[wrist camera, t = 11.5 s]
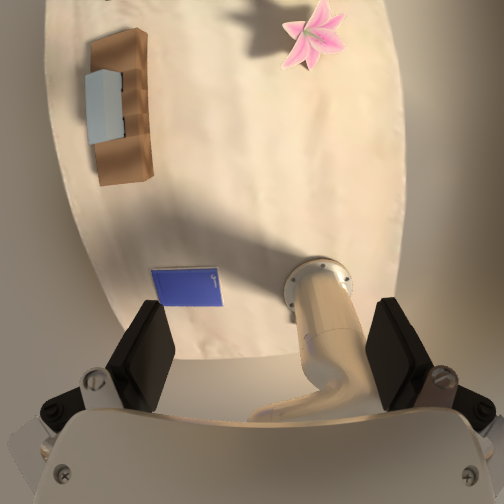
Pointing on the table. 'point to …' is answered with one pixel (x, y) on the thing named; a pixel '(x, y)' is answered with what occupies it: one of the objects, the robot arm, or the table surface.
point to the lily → (314, 36)
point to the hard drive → (188, 286)
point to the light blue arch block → (104, 106)
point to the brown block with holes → (126, 109)
